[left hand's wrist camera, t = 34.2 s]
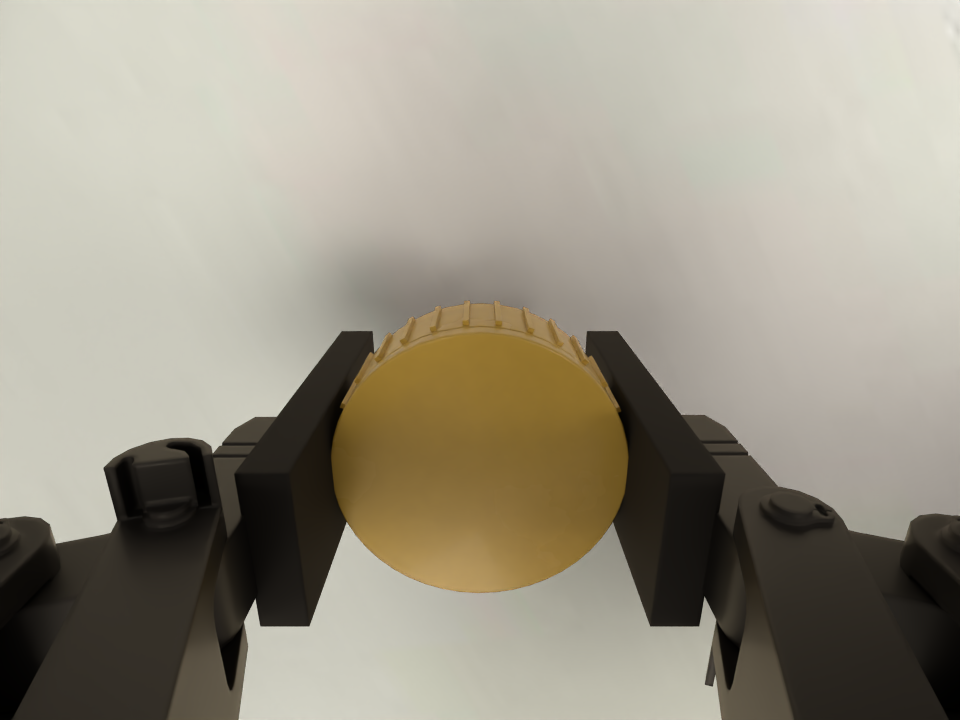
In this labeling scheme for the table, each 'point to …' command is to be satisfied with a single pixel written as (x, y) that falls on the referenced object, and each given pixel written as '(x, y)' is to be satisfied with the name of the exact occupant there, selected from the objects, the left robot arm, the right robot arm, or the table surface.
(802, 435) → the table surface
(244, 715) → the table surface
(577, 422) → the lid
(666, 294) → the table surface
